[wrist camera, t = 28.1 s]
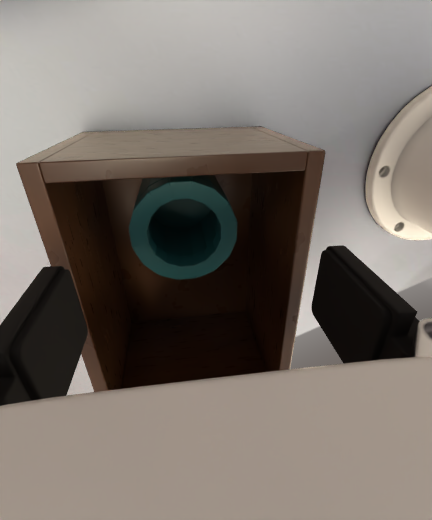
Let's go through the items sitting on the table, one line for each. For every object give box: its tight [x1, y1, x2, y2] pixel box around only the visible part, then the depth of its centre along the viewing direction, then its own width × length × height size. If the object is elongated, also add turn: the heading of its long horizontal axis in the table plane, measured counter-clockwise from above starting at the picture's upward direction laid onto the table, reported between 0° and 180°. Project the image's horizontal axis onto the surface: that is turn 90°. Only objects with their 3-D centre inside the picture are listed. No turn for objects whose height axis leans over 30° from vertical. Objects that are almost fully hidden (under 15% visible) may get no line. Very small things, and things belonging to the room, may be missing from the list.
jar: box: [129, 175, 237, 280], centre depth 18 cm, size 6×6×7 cm
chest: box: [16, 126, 325, 392], centre depth 20 cm, size 17×12×10 cm
